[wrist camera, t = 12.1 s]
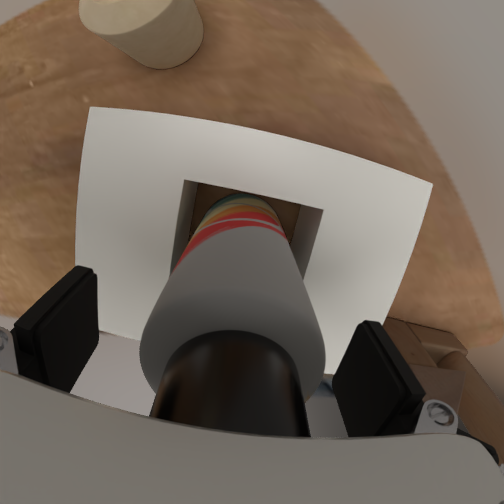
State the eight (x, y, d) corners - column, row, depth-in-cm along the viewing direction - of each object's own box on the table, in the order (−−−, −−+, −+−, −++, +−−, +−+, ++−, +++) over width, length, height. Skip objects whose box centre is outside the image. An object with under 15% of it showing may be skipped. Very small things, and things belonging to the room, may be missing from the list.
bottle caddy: (109, 286, 24) (78, 323, 19) (127, 113, 20) (90, 106, 14) (338, 331, 26) (357, 375, 20) (391, 172, 21) (433, 184, 16)
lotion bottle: (223, 178, 21) (87, 401, 3) (294, 214, 22) (437, 478, 4) (190, 246, 23) (70, 513, 4) (257, 278, 24) (274, 561, 5)
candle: (154, -1, 16) (106, -66, 7) (218, 19, 17) (199, -55, 8) (119, 58, 18) (46, 18, 9) (181, 80, 19) (133, 37, 10)
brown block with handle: (375, 312, 25) (476, 483, 8) (452, 332, 27) (547, 452, 10) (356, 345, 27) (431, 518, 10) (435, 359, 28) (515, 483, 11)
